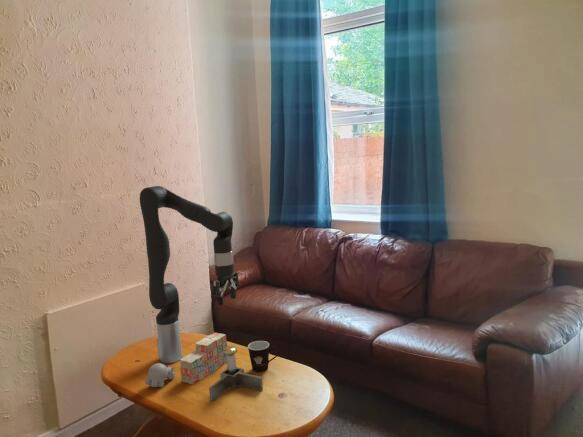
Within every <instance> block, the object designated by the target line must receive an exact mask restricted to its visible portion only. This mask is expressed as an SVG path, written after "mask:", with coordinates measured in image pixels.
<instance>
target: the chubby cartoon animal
mask: <svg viewBox="0 0 583 437" xmlns="http://www.w3.org/2000/svg"><path fill="white" fill-rule="evenodd" d="M147 375H148V376H147V378H146V379H145V381H144V383H145V384H146V386H150V387H151V388H157V387H158V388H164V385H165V380H166V379H168V380H174V378H175V375H176V370H175V367H170V364H168V365H167V366H166V365H165V363H162V362H161V363H160V362H159V363H158V362H157V363H154V364H152V365H151V366H150V367H149V369H148V374H147Z"/></svg>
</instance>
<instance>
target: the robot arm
mask: <svg viewBox="0 0 583 437" xmlns="http://www.w3.org/2000/svg"><path fill="white" fill-rule="evenodd" d="M139 204H140V210H141V214H142V219H143V226H144V234H145V243H146V244H145V247H146V256H147V264H148V277H149V278H148V296H149V302H150V305H151V306H152V307H153V308H154V309H155V310H159V312H158V313H157V314H156V316H155V323H156V330H157V338H156V348H157V355H158V360H159V361H160V362H161V363H162V364H173V363H176V362H180V359H182V358H183V351H182V342H181V332H180V331H181V330H180V329H181V328H180V322H179V321H180V320H179V315H180V298H179V297H180V296H179V291H178V288H177V287H176V286H175V285H174V284H173V283H171V282H166V283H165V273H166V270H167V268H168V264H169V261H170V257H171V247H170V246H171V245H170V239H169V237H168V234H167V233H166V231H165V229H164V228H163V226H162V223H161V221H160V217H159V216H160V215H159V209H161V208H167V209H172V210H173V211H176V212H178V214H180V215H181V216H182V217H183V218H185V219H187V220H190V221H192V222H195V223H198V224H200V225H201V226H202V227H204V228H206V229H207V230H209V231H211V232H215V233H217V234H216V236H215V238H214V239H213V240H212V241H213V243H212V244H213V263H214V273H215V276H216V277H217V279H216V280H212V282H211V285H212V286H211V288H212V297H216V301H217V305H218V306H220V307H222V306H224V296H223V295H224V293H225V291H226V289H228V288H229V290H230V291H229V292H230V298H231V299H232V300H233V299H234V300H235V299H237V288H238V287H239V286H240V282H239V281H240V280H239V274H238V272H235V267H234V262H235V261H234V254H233V249H232V248H233V247H232V237H233V236H232V235H233V230H234V228H233V227H234V220H233V217H232V215H231V214H230V213H229V212H227V211H222V212H218V213H214V212H212V210H211V209H210V208H209V207H206V206H204V205H201V204H199V203H196V202H193V201H190V200H188V199H186V198H184V197H181V196H180V195H178V194H176V193H174V192H172V191H171V190H169V189H167V188H165V187H163V186H162V185H156V186H155V185H154V186H149V187H148V186H147V187H145V188H143V189H142V190H141V191H140V193H139Z"/></svg>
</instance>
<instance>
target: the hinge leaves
mask: <svg viewBox="0 0 583 437" xmlns="http://www.w3.org/2000/svg"><path fill="white" fill-rule="evenodd" d="M219 377H220V378H219V379H218V380H217V381H216V382H214V383H213V384H212V385H210V387H209V388H208V391H209V392H208V393H209V401H210V402H214V401H215V400H216V399H217V398H219V396H221V395H222V394H224V392H226V391H227V390H228V389H234V390H236V389H237V388H238V387H243V388H247V389H251V390H255V391H260V392H263V390H264V389H263V387H264V384H263V377H262V376H259V375H253V374H249V373H245V370H244V368H243V367H241V368H240V367H237V366H236V374H234V375H230V374H228V368H227V367H226V368H225V369H224V370H223V371H222V372H220V374H219Z"/></svg>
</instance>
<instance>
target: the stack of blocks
mask: <svg viewBox="0 0 583 437" xmlns="http://www.w3.org/2000/svg"><path fill="white" fill-rule="evenodd" d="M225 347H228V341H227V334H225V333H219V332H213V333H211V334H209V335H207V336H205V337H204V338H202V339H201V340H199V341H197V342H195V350H194V351H192V352H191V353H189V354H187V355H185V356H184V357H182V358H181V359H180V360H179V364H180V367H179V369H180V376H181V377H180V378H181V381H182V383H187V384H190V385H195V384H196V383H198V382H200V381H201V380H203V379H204V378H206V377H208V376H209V375H210V374H212V373H214V372H215V371H216V370H217V369H219V368H221V367H222V366H223V365H227V356H226V354H224V353H223V349H224V348H225Z"/></svg>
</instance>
